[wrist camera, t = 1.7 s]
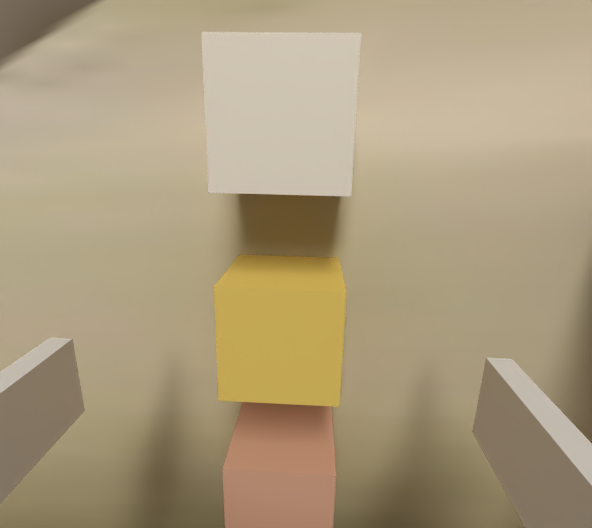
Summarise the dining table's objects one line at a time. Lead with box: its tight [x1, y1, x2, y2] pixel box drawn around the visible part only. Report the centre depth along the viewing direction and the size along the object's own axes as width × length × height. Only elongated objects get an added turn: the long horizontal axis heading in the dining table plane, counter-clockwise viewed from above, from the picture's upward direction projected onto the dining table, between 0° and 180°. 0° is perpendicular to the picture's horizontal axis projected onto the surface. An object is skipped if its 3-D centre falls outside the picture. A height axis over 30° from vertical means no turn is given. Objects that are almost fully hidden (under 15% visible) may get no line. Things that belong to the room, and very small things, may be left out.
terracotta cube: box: [223, 402, 336, 528], centre depth 19 cm, size 5×5×5 cm
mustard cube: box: [214, 255, 346, 407], centre depth 17 cm, size 5×5×5 cm
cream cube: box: [202, 32, 361, 196], centre depth 15 cm, size 5×5×5 cm
